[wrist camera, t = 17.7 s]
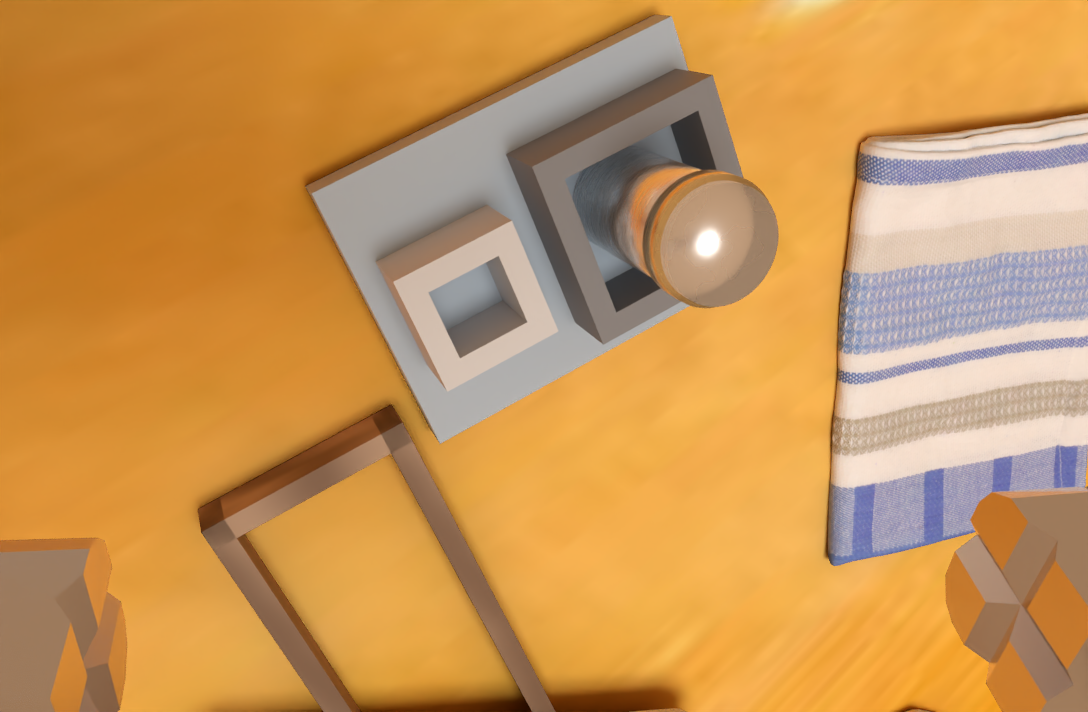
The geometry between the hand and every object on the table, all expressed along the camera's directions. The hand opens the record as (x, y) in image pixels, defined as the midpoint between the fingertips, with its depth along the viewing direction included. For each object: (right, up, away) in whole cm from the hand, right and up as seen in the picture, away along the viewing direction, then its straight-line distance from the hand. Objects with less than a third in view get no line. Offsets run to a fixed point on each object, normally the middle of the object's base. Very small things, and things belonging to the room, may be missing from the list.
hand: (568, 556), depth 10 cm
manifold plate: (0, +7, +34) cm, 35 cm away
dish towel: (+22, +3, +46) cm, 51 cm away
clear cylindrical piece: (+3, +8, +34) cm, 35 cm away
